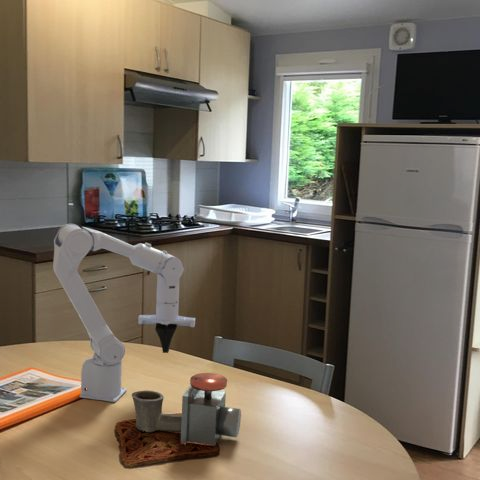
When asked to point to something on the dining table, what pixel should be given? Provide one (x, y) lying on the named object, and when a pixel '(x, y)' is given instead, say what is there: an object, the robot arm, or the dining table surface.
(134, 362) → the dining table surface
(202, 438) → the valve
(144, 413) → the pipe
